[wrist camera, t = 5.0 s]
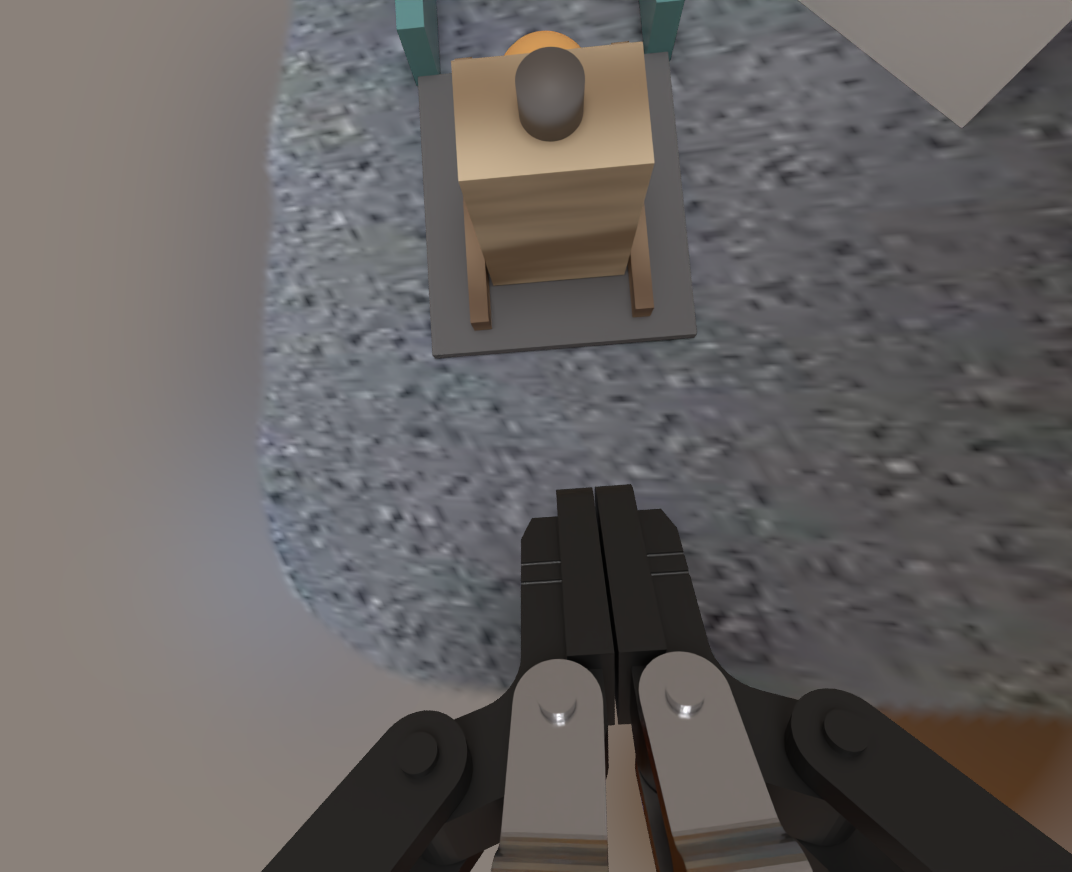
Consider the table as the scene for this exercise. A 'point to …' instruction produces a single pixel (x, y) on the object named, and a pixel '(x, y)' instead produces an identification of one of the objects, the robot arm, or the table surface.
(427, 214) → the mat
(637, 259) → the channel
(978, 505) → the table surface
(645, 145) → the tan rectangular block
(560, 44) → the ball
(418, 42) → the teal u-shaped frame
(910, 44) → the milk
